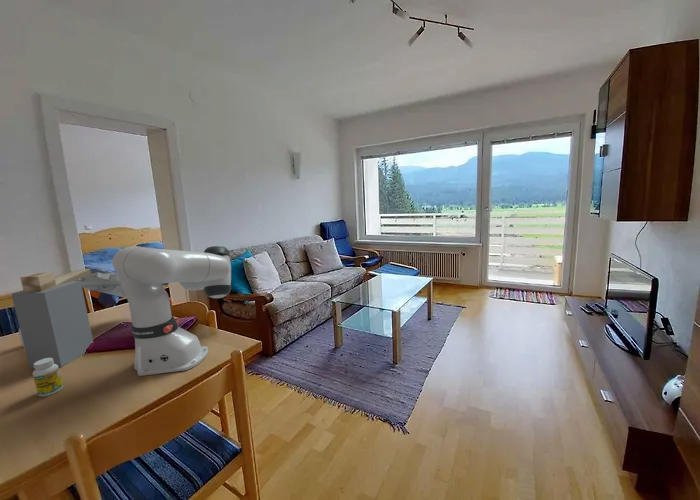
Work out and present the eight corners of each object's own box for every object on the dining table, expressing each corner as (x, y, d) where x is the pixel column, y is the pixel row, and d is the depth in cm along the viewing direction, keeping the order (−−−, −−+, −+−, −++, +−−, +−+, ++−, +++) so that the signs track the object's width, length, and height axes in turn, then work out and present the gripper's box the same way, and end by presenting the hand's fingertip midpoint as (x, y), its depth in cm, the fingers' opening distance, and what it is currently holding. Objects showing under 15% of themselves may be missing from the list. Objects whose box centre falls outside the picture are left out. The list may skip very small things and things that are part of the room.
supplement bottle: (65, 383, 93) (58, 354, 91) (61, 392, 89) (54, 362, 87) (40, 390, 90) (33, 360, 89) (35, 399, 86) (27, 368, 84)
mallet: (94, 274, 120) (92, 262, 119) (41, 291, 99) (38, 276, 99) (79, 275, 120) (77, 262, 119) (23, 291, 100) (20, 277, 99)
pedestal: (94, 347, 115) (80, 281, 111) (61, 366, 103) (44, 292, 98) (66, 348, 116) (51, 282, 111) (29, 367, 103) (11, 293, 98)
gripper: (133, 289, 130) (108, 281, 117) (86, 291, 131) (56, 283, 118) (136, 275, 132) (112, 266, 119) (90, 276, 133) (61, 267, 120)
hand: (84, 274), depth 119 cm, fingers open, 8 cm apart
